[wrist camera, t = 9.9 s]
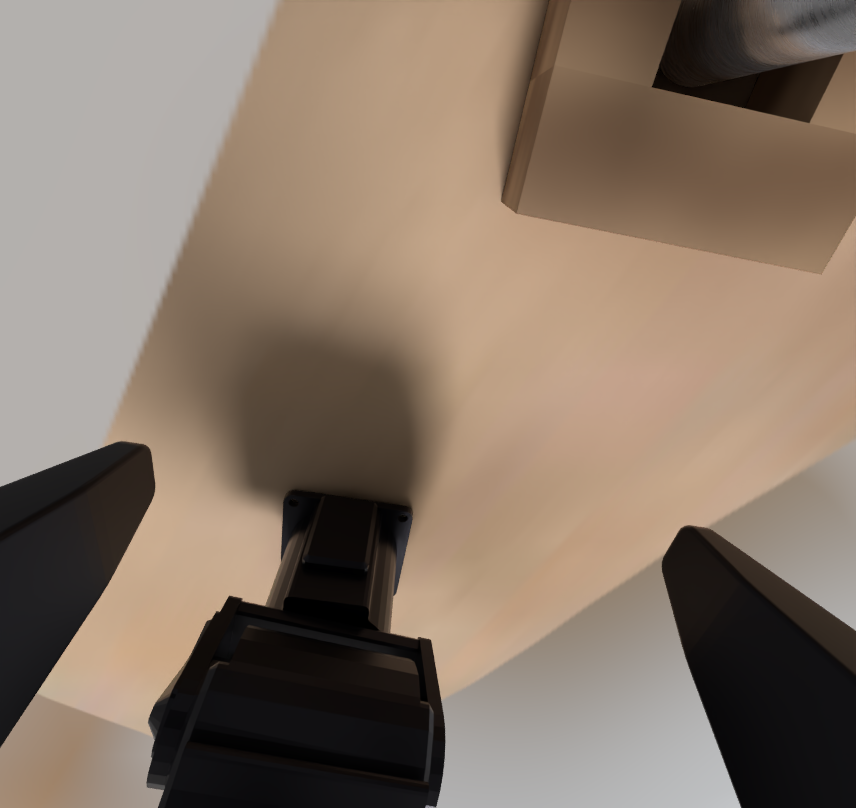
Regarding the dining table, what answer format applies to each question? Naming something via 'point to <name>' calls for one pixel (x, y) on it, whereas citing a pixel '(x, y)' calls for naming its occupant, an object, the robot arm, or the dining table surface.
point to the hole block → (682, 143)
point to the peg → (754, 37)
